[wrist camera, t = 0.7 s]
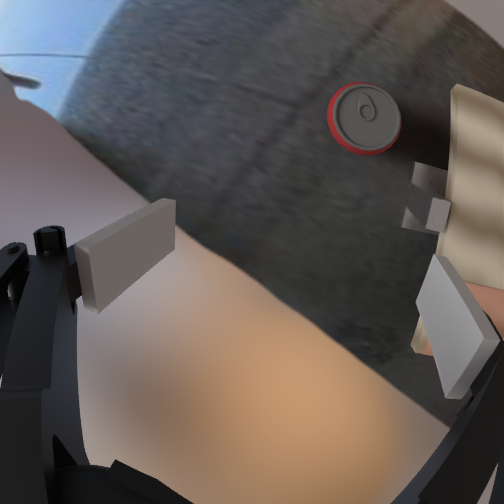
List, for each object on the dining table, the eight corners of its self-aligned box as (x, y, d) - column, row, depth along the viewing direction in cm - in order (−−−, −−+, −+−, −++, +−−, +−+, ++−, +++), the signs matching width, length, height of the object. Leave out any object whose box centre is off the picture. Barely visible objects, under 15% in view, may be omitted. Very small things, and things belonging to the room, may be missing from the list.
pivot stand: (412, 160, 32) (438, 170, 23) (518, 195, 28) (557, 215, 20) (399, 224, 35) (418, 253, 26) (503, 250, 31) (536, 281, 23)
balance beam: (449, 89, 24) (456, 82, 22) (530, 124, 22) (539, 120, 20) (409, 344, 29) (415, 353, 26) (492, 354, 26) (500, 362, 24)
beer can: (378, 93, 30) (399, 75, 19) (387, 148, 32) (412, 154, 21) (323, 98, 32) (319, 81, 21) (333, 152, 34) (333, 161, 23)
